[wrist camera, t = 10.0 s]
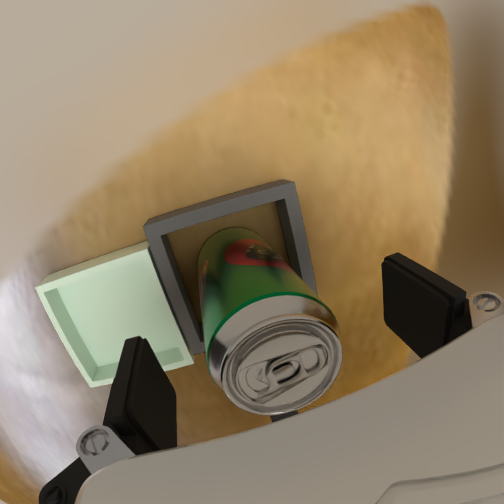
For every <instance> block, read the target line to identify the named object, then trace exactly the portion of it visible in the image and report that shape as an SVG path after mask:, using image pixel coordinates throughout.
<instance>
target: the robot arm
mask: <svg viewBox="0 0 504 504" xmlns="http://www.w3.org/2000/svg"><path fill="white" fill-rule="evenodd" d="M382 282H383V304H384V321H385V323H386V325H387V326H388V327H389V328H390V329H391V330H392V331H393V332H394V333H395V334H396V335H397V336H399V337H400V338H401V339H402V340H403V341H404V342H405V343H406V344H407V345H408V346H409V347H410V348H411V349H412V350H413V351H414V352H415V353H416V354H417V355H418V356H419V357H420V358H421V359H420V360H418V361H416V362H414V363H413V364H411V365H409V366H407V367H405V368H403V369H401V370H399V371H397V372H395V373H393V374H391V375H389V376H387V377H385V378H383V379H381V380H379V381H377V382H375V383H372V384H370V385H368V386H366V387H364V388H362V389H359V390H357V391H355V392H353V393H350V394H348V395H346V396H343V397H341V398H338V399H336V400H333V401H331V402H329V403H326V404H323V405H321V406H318V407H316V408H313V409H310V410H308V411H305V412H302V413H299V414H296V415H294V416H291V417H288V418H285V419H282V420H279V421H276V422H273V423H270V424H266V425H263V426H260V427H256V428H253V429H250V430H246V431H243V432H239V433H235V434H231V435H227V436H224V437H219V438H215V439H211V440H207V441H203V442H198V443H193V444H189V445H184V446H179V447H177V421H176V393H175V390H174V388H173V386H172V384H171V383H170V381H169V379H168V377H167V376H166V374H165V372H164V370H163V368H162V367H161V365H160V363H159V361H158V359H157V357H156V355H155V353H154V351H153V350H152V348H151V346H150V344H149V342H148V340H147V339H146V338H144V339H142V337H141V336H136V337H132V338H129V339H126V340H125V342H124V345H123V349H122V353H121V356H120V360H119V364H118V367H117V371H116V375H115V377H114V379H113V383H112V387H111V391H110V395H109V399H108V403H107V408H106V412H105V417H104V421H103V425H98V426H94V427H91V428H89V429H87V430H86V431H85V432H83V433H82V434H81V436H80V437H79V439H78V441H77V444H76V451H77V453H78V455H79V458H78V459H76V460H75V461H74V462H73V463H72V464H70V465H69V466H68V467H67V468H65V469H64V470H63V471H62V472H61V473H59V474H58V475H57V476H56V477H54V478H53V479H52V480H51V481H49V482H48V483H47V484H46V485H45V486H44V487H43V488H42V490H41V492H40V495H39V504H504V301H503V299H502V298H501V297H500V296H499V295H497V294H495V293H492V292H486V291H484V292H478V293H475V294H474V295H472V296H471V297H470V299H469V300H468V299H466V291H464V290H463V289H461V288H459V287H458V286H456V285H454V284H453V283H451V282H449V281H447V280H446V279H444V278H443V277H441V276H439V275H437V274H436V273H434V272H432V271H431V270H429V269H427V268H425V267H424V266H422V265H420V264H418V263H416V262H415V261H413V260H411V259H409V258H408V257H406V256H404V255H402V254H400V253H395V254H392V255H389V256H387V257H385V259H384V262H382Z"/></svg>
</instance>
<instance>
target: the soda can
mask: <svg viewBox="0 0 504 504" xmlns="http://www.w3.org/2000/svg"><path fill="white" fill-rule="evenodd" d="M197 270H198V282H199V293H200V304H201V315H202V324H203V334H204V343H205V351H206V360H207V367H208V370H209V373H210V376H211V377H212V379H213V381H214V383H215V384H216V385H217V386H218V387H219V388H220V389H221V390H222V391H223V392H224V393H225V395H226V396H227V397H228V399H229V400H230V401H231V402H232V403H233V404H234V405H236V406H237V407H238V408H240V409H242V410H244V411H247V412H249V413H252V414H257V415H267V416H269V415H280V414H286V413H290V412H293V411H296V410H298V409H301V408H303V407H305V406H307V405H309V404H310V403H312V402H313V401H315V400H316V399H318V398H319V397H320V396H321V395H323V394H324V393H325V392H326V391H327V390H328V388H329V387H330V386H331V385H332V383H333V382H334V381H335V379H336V377H337V375H338V373H339V371H340V368H341V364H342V359H343V350H342V345H341V341H340V331H339V326H338V323H337V320H336V318H335V316H334V314H333V313H332V311H331V310H330V309H329V308H328V307H327V306H326V305H325V303H324V302H323V301H322V300H321V299H320V298H319V297H318V296H317V295H316V294H315V293H314V292H313V291H312V290H311V289H310V287H309V286H308V285H307V284H306V283H305V282H304V281H303V280H302V279H301V278H300V277H299V276H298V275H297V274H296V273H295V272H294V270H293V269H292V268H291V267H290V266H289V265H288V264H287V263H286V262H285V261H284V260H283V259H282V258H281V257H280V256H279V255H278V254H277V253H276V251H275V250H274V249H273V248H272V247H271V246H270V245H269V244H268V243H267V242H266V241H265V240H264V239H263V238H262V237H261V236H260V235H258V234H257V233H255V232H253V231H251V230H248V229H245V228H229V229H225V230H222V231H220V232H218V233H216V234H214V235H213V236H212V237H210V238H209V239H208V240H207V242H206V243H205V244H204V246H203V247H202V249H201V251H200V253H199V257H198V262H197Z"/></svg>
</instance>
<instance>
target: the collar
mask: <svg viewBox="0 0 504 504" xmlns="http://www.w3.org/2000/svg"><path fill="white" fill-rule="evenodd" d="M274 201H276V205H277V209H278V214H279V218H280V222H281V226H282V230H283V235H284V239H285V243H286V248H287V252H288V257H289V261H290V265H291V268H292V269H293V270H294V272H295V273H296V274H297V275H298V276H299V277H300V278H301V279H302V280H303V281H304V282H305V283H306V284H307V285H308V286H309V287H310V289H311V290H312V291H313V292H314V293H315V294H316V295H317V296H318V294H317V288H316V283H315V278H314V272H313V267H312V262H311V257H310V252H309V247H308V242H307V237H306V232H305V227H304V223H303V218H302V213H301V209H300V204H299V200H298V195H297V191H296V187H295V182H292V181H287V180H279V181H275V182H271V183H267V184H264V185H260V186H256V187H253V188H249V189H245V190H242V191H238V192H235V193H231V194H228V195H224V196H221V197H218V198H214V199H211V200H207V201H204V202H201V203H198V204H194V205H191V206H188V207H185V208H181V209H178V210H175V211H172V212H169V213H166V214H163V215H160V216H157V217H154V218H151V219H148V221H147V222H146V223H145V225H144V226H143V228H144V231H145V234H146V237H147V240H148V243H149V246H150V249H151V251H152V254H153V257H154V260H155V262H156V265H157V268H158V270H159V273H160V276H161V278H162V281H163V284H164V286H165V289H166V291H167V294H168V296H169V299H170V301H171V304H172V306H173V309H174V311H175V314H176V316H177V319H178V321H179V323H180V326H181V328H182V330H183V333H184V335H185V337H186V340H187V342H188V344H189V346H190V349H191V351H192V353H193V355H196V354H200V353H203V352H206V351H205V343H204V334H203V324H199V323H198V320H197V318H196V315H195V313H194V310H193V307H192V305H191V302H190V299H189V297H188V294H187V291H186V289H185V286H184V283H183V281H182V278H181V275H180V272H179V269H178V267H177V264H176V261H175V258H174V255H173V252H172V249H171V246H170V244H169V241H168V238H167V235H166V234H167V233H170V232H173V231H176V230H180V229H183V228H186V227H189V226H192V225H196V224H199V223H202V222H205V221H209V220H212V219H215V218H218V217H222V216H225V215H229V214H232V213H235V212H239V211H242V210H246V209H249V208H252V207H256V206H259V205H263V204H266V203H270V202H274Z"/></svg>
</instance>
